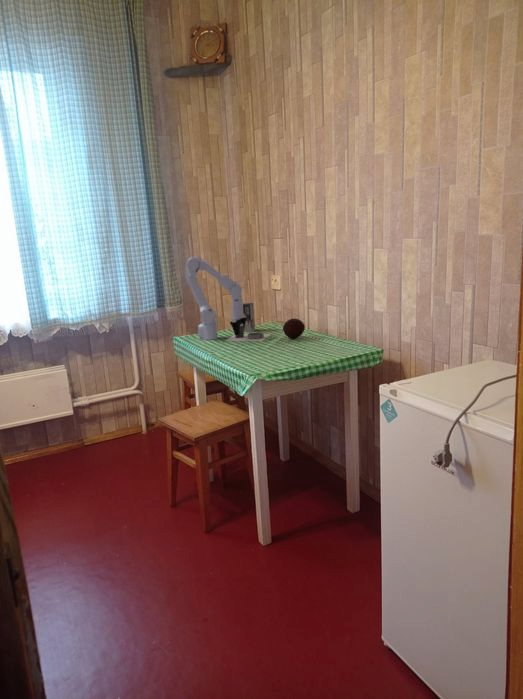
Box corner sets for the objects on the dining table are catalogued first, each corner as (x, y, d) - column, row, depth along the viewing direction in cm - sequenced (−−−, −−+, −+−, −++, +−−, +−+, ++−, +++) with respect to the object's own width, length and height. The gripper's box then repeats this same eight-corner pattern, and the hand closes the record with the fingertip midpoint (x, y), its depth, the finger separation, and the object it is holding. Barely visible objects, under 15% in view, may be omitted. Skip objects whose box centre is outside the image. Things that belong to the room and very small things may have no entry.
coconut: (307, 335, 267) (306, 315, 265) (302, 341, 255) (301, 320, 252) (286, 335, 270) (285, 316, 268) (280, 341, 257) (279, 320, 255)
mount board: (224, 342, 263) (224, 336, 262) (235, 336, 278) (234, 330, 277) (262, 342, 257) (262, 336, 256) (270, 336, 272) (270, 330, 271)
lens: (234, 337, 268) (233, 324, 266) (236, 336, 272) (236, 323, 271) (242, 337, 267) (241, 324, 265) (245, 336, 271) (244, 323, 269)
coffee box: (255, 331, 288) (253, 302, 284) (252, 333, 282) (250, 304, 278) (240, 331, 290) (238, 303, 287) (236, 333, 284) (234, 304, 281)
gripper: (240, 309, 258) (242, 336, 261) (249, 305, 272) (250, 330, 275) (227, 310, 260) (229, 336, 263) (236, 305, 274) (238, 330, 277)
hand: (239, 333), depth 269 cm, fingers open, 7 cm apart
